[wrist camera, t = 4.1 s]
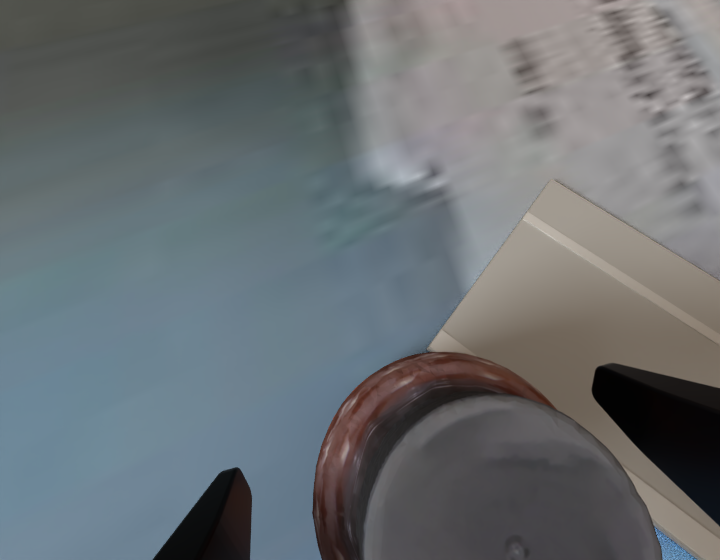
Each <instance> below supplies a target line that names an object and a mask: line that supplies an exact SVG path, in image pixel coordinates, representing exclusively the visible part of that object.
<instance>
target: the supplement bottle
mask: <svg viewBox="0 0 720 560" xmlns="http://www.w3.org/2000/svg"><path fill="white" fill-rule="evenodd" d="M312 514H313V519H314V525H315V531H316V538H317V543H318V547H319V551H320V554H321V558H322V560H662V551H661V546H660V543H659V541H658V538H657V535H656V532H655V528H654V525H653V521H652V518H651V516H650V513H649V511H648V508H647V506H646V504H645V503H644V501H643V500H642V498H641V497H640V495H639V494H638V492H637V490H636V488H635V486H634V484H633V482H632V480H631V479H630V477H629V476H628V474H627V473H626V471H625V470H624V468H623V467H622V465H621V464H620V463H619V461H618V460H617V459H616V457H615V456H614V455H613V454H612V453H611V452H610V450H609V449H608V448H607V447H606V446H605V445H604V444H603V443H601V442H600V441H599V440H598V439H597V438H596V437H595V436H594V435H593V434H591V433H590V432H589V431H588V430H586V429H585V428H584V427H582V426H581V425H580V424H578V423H577V422H576V421H575V420H573V419H572V418H571V417H569V416H567V415H566V414H564V413H562V412H560V411H558V410H557V409H556V408H555V407H554V405H553V404H552V403H551V402H550V401H549V400H548V399H547V398H546V397H545V396H544V395H543V394H542V393H541V392H540V391H539V390H538V389H536V388H535V387H534V386H533V385H532V384H530V383H529V382H528V381H526V380H525V379H523V378H522V377H520V376H519V375H517V374H516V373H514V372H512V371H511V370H509V369H507V368H505V367H503V366H501V365H499V364H496V363H494V362H492V361H490V360H487V359H483V358H480V357H477V356H473V355H469V354H465V353H457V352H428V353H422V354H415V355H412V356H408V357H405V358H403V359H400V360H397V361H395V362H393V363H391V364H389V365H387V366H385V367H383V368H381V369H380V370H378V371H377V372H375V373H374V374H372V375H371V376H369V377H368V378H367V379H366V380H364V381H363V382H362V383H361V384H360V385H358V386H357V387H356V388H355V390H354V391H353V392H352V393H351V394H350V395H349V396H348V397H347V398H346V400H345V401H344V402H343V403H342V405H341V406H340V408H339V410H338V411H337V413H336V415H335V416H334V418H333V420H332V422H331V424H330V426H329V428H328V431H327V433H326V436H325V438H324V441H323V443H322V446H321V450H320V453H319V457H318V461H317V465H316V473H315V482H314V492H313V512H312Z"/></svg>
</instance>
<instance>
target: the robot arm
mask: <svg viewBox="0 0 720 560" xmlns="http://www.w3.org/2000/svg"><path fill="white" fill-rule="evenodd" d="M591 391H592V395H593V397H594V399H595V400H596V402H597V403H598V404H599V405H600V406H601V407H602V409H603V410H604V411H605V412H606V413H607V414H608V415H609V417H610V418H611V419H612V420H613V421H614V422H615V423H616V424H617V426H618V427H619V428H620V429H621V430H622V431H623V432H624V433H625V435H626V436H627V437H628V438H629V439H630V440H631V441H632V442H633V444H634V445H635V446H636V447H637V448H638V449H639V450H640V451H641V452H642V453H643V454H644V455H645V456H646V457H647V458H648V459H649V460H650V461H651V462H652V463H653V464H654V465H655V466H657V467H658V468H659V469H660V470H661V471H662V472H663V473H664V474H665V475H666V476H667V477H668V478H669V479H670V480H671V481H672V482H673V483H674V484H675V485H676V486H678V487H679V488H680V489H681V490H682V491H683V492H684V493H685V494H686V495H687V496H688V497H689V498H690V499H691V500H692V501H693V502H694V503H695V504H696V505H698V506H699V507H700V508H701V509H702V510H703V511H704V512H705V513H706V514H707V515H708V516H709V517H710V518H711V519H712V520H713V521H714V522H715V523H716V524H717V525H719V526H720V388H717V387H713V386H709V385H705V384H701V383H696V382H692V381H688V380H684V379H680V378H676V377H671V376H667V375H663V374H659V373H655V372H651V371H646V370H642V369H638V368H634V367H630V366H626V365H621V364H617V363H608V364H604V365H600V366H598V367H597V368H596V369H595V373H594V378H593V383H592V389H591ZM251 512H252V495H251V490H250V487H249V485H248V483H247V481H246V479H245V477H244V475H243V473H242V471H241V470H240V469H239V468H238V467H235V468H232V469H228V470H225V471H222V472H220V473H219V474H218V476H217V477H216V478H215V479H214V481H213V482H212V483H211V485H210V486H209V487H208V489H207V490H206V491H205V492H204V494H203V495H202V496H201V498H200V499H199V500H198V501H197V503H196V504H195V505H194V507H193V508H192V509H191V511H190V512H189V513H188V514H187V516H186V517H185V518H184V520H183V521H182V522H181V523H180V525H179V526H178V527H177V529H176V530H175V531H174V533H173V534H172V535H171V536H170V538H169V539H168V540H167V542H166V543H165V544H164V545H163V547H162V548H161V549H160V551H159V552H158V553H157V555H156V556H155V557H154V558H153V560H250V542H251Z"/></svg>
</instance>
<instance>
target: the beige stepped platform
mask: <svg viewBox="0 0 720 560" xmlns="http://www.w3.org/2000/svg"><path fill="white" fill-rule="evenodd" d="M427 350H428V351H429V352H457V353H465V354H469V355H473V356H477V357H480V358H483V359H487V360H490V361H492V362H494V363H496V364H499V365H501V366H503V367H505V368H507V369H509V370H511V371H512V372H514V373H516V374H517V375H519V376H520V377H522V378H523V379H525V380H526V381H528V382H529V383H530V384H532V385H533V386H534V387H535V388H536V389H538V390H539V391H540V392H541V393H542V394H543V395H544V396H545V397H546V398H547V399H548V400H549V401H550V402H551V403H552V404H553V405H554V407H555V408H556V409H557V410H558V411H560V412H562V413H564V414H566V415H567V416H569V417H571V418H572V419H573V420H575V421H576V422H577V423H578V424H580V425H581V426H582V427H584V428H585V429H586V430H588V431H589V432H590V433H591V434H593V435H594V436H595V437H596V438H597V439H598V440H599V441H600V442H601V443H603V444H604V445H605V446H606V447H607V448H608V449H609V450H610V452H611V453H612V454H613V455H614V456H615V457H616V459H617V460H618V461H619V463H620V464H621V465H622V467H623V468H624V470H625V471H626V473H627V474H628V476H629V477H630V479H631V480H632V482H633V484H634V486H635V488H636V490H637V492H638V494H639V495H640V497H641V498H642V500H643V501H644V503H645V504H646V506H647V508H648V511H649V513H650V516H651V518H652V521H653V525H654V526H655V527H656V528H657V529H658V530H660V531H661V532H662V533H664V534H665V535H666V536H667V537H669V538H670V539H671V540H673V541H674V542H675V543H676V544H678V545H679V546H680V547H682V548H683V549H684V550H685V551H687V552H688V553H689V554H691V555H692V556H693V557H694V558H696V559H697V560H720V526H719V525H717V524H716V523H715V522H714V521H713V520H712V519H711V518H710V517H709V516H708V515H707V514H706V513H705V512H704V511H703V510H702V509H701V508H700V507H699V506H698V505H696V504H695V503H694V502H693V501H692V500H691V499H690V498H689V497H688V496H687V495H686V494H685V493H684V492H683V491H682V490H681V489H680V488H679V487H678V486H676V485H675V484H674V483H673V482H672V481H671V480H670V479H669V478H668V477H667V476H666V475H665V474H664V473H663V472H662V471H661V470H660V469H659V468H658V467H657V466H655V465H654V464H653V463H652V462H651V461H650V460H649V459H648V458H647V457H646V456H645V455H644V454H643V453H642V452H641V451H640V450H639V449H638V448H637V447H636V446H635V445H634V444H633V442H632V441H631V440H630V439H629V438H628V437H627V436H626V435H625V433H624V432H623V431H622V430H621V429H620V428H619V427H618V426H617V424H616V423H615V422H614V421H613V420H612V419H611V418H610V417H609V415H608V414H607V413H606V412H605V411H604V410H603V409H602V407H601V406H600V405H599V404H598V403H597V402H596V400H595V399H594V397H593V395H592V391H591V389H592V383H593V378H594V373H595V369H596V368H597V367H598V366H600V365H604V364H608V363H617V364H621V365H626V366H630V367H634V368H638V369H642V370H646V371H651V372H655V373H659V374H663V375H667V376H671V377H676V378H680V379H684V380H688V381H692V382H696V383H701V384H705V385H709V386H713V387H717V388H720V281H719V280H717V279H715V278H714V277H712V276H711V275H709V274H707V273H706V272H704V271H702V270H701V269H699V268H697V267H696V266H694V265H692V264H691V263H689V262H688V261H686V260H684V259H683V258H681V257H679V256H678V255H676V254H674V253H673V252H671V251H669V250H668V249H666V248H664V247H663V246H661V245H660V244H658V243H656V242H655V241H653V240H651V239H650V238H648V237H646V236H645V235H643V234H641V233H640V232H638V231H637V230H635V229H633V228H632V227H630V226H628V225H627V224H625V223H623V222H622V221H620V220H618V219H617V218H615V217H613V216H612V215H610V214H609V213H607V212H605V211H604V210H602V209H600V208H599V207H597V206H595V205H594V204H592V203H590V202H589V201H587V200H586V199H584V198H582V197H581V196H579V195H577V194H576V193H574V192H572V191H571V190H569V189H567V188H566V187H564V186H563V185H561V184H559V183H558V182H556V181H554V180H553V179H551V180H550V181H549V182H548V183H547V185H546V186H545V188H544V189H543V190H542V192H541V193H540V194H539V196H538V197H537V198H536V200H535V201H534V203H533V204H532V205H531V207H530V208H529V209H528V211H527V212H526V214H525V215H524V216H523V218H522V219H521V220H520V222H519V223H518V224H517V226H516V227H515V229H514V230H513V231H512V233H511V234H510V235H509V237H508V238H507V239H506V241H505V242H504V244H503V245H502V246H501V248H500V249H499V250H498V252H497V253H496V255H495V256H494V257H493V259H492V260H491V261H490V263H489V264H488V265H487V267H486V268H485V270H484V271H483V272H482V274H481V275H480V276H479V278H478V279H477V281H476V282H475V283H474V285H473V286H472V287H471V289H470V290H469V291H468V293H467V294H466V296H465V297H464V298H463V300H462V301H461V302H460V304H459V305H458V306H457V308H456V309H455V311H454V312H453V313H452V315H451V316H450V317H449V319H448V320H447V322H446V323H445V324H444V326H443V327H442V328H441V330H440V331H439V332H438V334H437V335H436V337H435V338H434V339H433V341H432V342H431V343H430V345H429V346H428V348H427Z"/></svg>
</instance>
